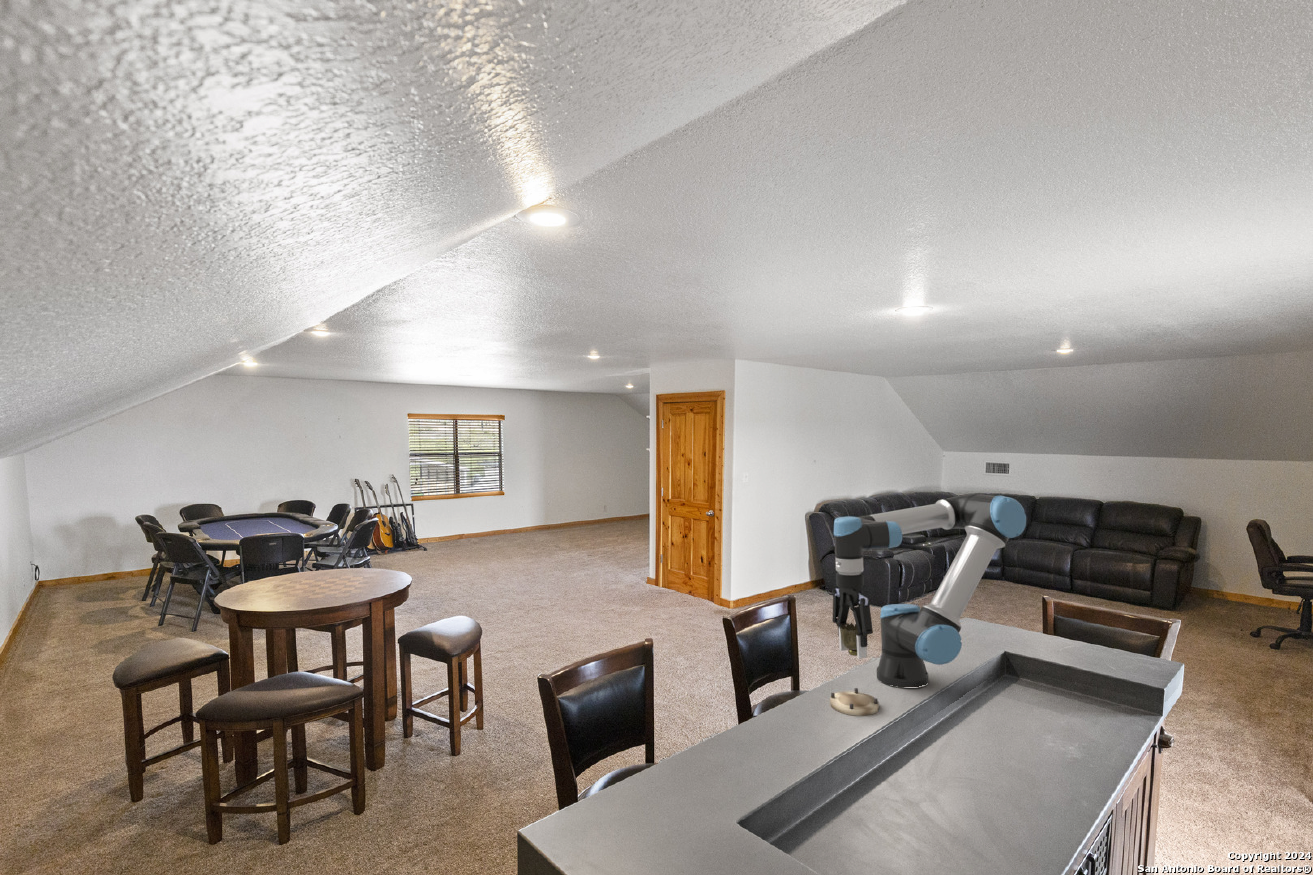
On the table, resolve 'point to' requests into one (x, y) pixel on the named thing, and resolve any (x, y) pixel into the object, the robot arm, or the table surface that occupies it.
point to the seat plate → (854, 703)
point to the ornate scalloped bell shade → (849, 637)
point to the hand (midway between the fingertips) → (853, 653)
